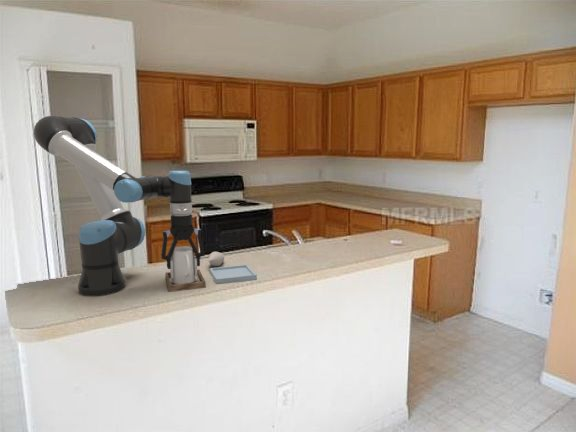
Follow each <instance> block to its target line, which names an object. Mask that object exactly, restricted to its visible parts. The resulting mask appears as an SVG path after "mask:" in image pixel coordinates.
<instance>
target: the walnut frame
mask: <svg viewBox="0 0 576 432" xmlns="http://www.w3.org/2000/svg"><path fill="white" fill-rule="evenodd" d="M197 277H198V279H199V281H197V282H195V281H194V282H191V283H185V284H171V281H170V279H172V278H171V271H169V272H165V280H166V285H167V289H168V290H167V291H168V293H169V292H176V291H177V292H178V291H186V290H194V289H202V288H206V284H207V283H206V280H205V278H204V276H203V274H202V272H201V270H200V269H199V268H197Z"/></svg>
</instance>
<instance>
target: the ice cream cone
mask: <svg viewBox="0 0 576 432" xmlns="http://www.w3.org/2000/svg"><path fill="white" fill-rule="evenodd" d="M224 260H225V256H224V254H223V253H222V252H219V251H212V252H211V253H210V254H209V255H208V260H207V261H208V263H209V265H211V266H212V267H220V266H221V264H223V262H224Z"/></svg>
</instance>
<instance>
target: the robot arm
mask: <svg viewBox="0 0 576 432" xmlns="http://www.w3.org/2000/svg"><path fill="white" fill-rule="evenodd" d="M33 137H34V140H35V141H36V143H37V144H38V146H40V148H42V150H44V151H46V152H48V153H49V154H50V155H52V156H54V157H61V158H62V159H64V160H66V161H67V162H69V163H70V164H72V165H73V166H74V167H75V169H76V171H77V172H78V175H79V177H80V179H81V180H82V183H83V185H84V187H85V189H86V190H87V193H88V194H89V196H90V199H91V200H92V203H93V205H94V207H95V208H96V211H97V212H98V213H99V216H100V220H96V221H91V222H88V223H85V224H83V225H82V226H81V227H80V229H79V231H78V233H79V236H78V242H79V249H80V261H81V274H80V277H79V281H78V285H77V288H78V289H77V290H78V294H80V295H83V296H88V297H89V296H92V297H95V296H96V297H97V296H107V295H111V294H113V293H114V294H115V293H117V292H120V291H123V290H124V289H125V288H126V279H125V276H124V275H123V272H122V270H121V268H120V265H119V264H120V263H119V255H120V254H122V253H124V252H126V251H127V252H128V251H130V250H133V249H135V248H136V247H139V246H140V245H141V244H142V243H143V242H144V240H145V236H146V229H145V227H146V226H145V225H144V223H143V221H141V220H140V218H137V217H135V216H133V215H132V212H131V211H130V210H129V209H126V208H124V207H123V203H126V204H127V203H137V202H139V201H143V200H148V199H153V198H169V211H170V212H169V213H170V214H171V215H170V228H169V230H163V231H162V236H163V239H162V247H161V255H160V256H161V260H166V267H167V269H168V270H170V271H169V272H171V278H170V279H172V278H173V260H172V259H171V257H172V254H173V251H174V249H175V247H177V243H178V242H179V241H180V242H181V241H188V242H189V245H190V247H192V249H193V251H194V272H195V277H198V275H197V270H198V267H200V266H201V257H203V256H205V255H206V253H205V249H204V243H203V240H202V232H203V230H202V229H201V228H194V224H193V214H192V213H193V203H192V202H193V201H192V179H191V173H190V171H189V170H169V172H168V175H166V176H164V175H163V176H162V175H161V176H160V175H142V176H140V177H136V176H134V175H132V174H131V173H129V172H127V170H124V169H122V168H121V167H119V166H118V165H116V163H115V164H114V163H113V162H112V161H110V160H108V158H105V157H103V156H102V155H100V153H97V152H96V150H97V147H98V146H97V144H96V143H97V141H98V140H97V137H98V134H97V130H96V128H95V127H94V125H93V124H92V123H91V122H90V121H89V120H87V119H83V118H80V117H76V116H75V117H74V116H72V117H70V116H69V117H68V116H57V115H48V116H44V117H42V118H40V119H39V120H38V121H37V122H36V123H35V125H34V128H33ZM170 234H171V235H172V237H173V239H172V242H171V245H170V247H169V250H168V252H167V244H168V237H170ZM193 234H195V235H196V237H197V242H198V247H199V251H200V252H198V249H197V247H196V245H195V243H194V241H193V239H192V237H191V236H192V235H193ZM166 254H167V255H166Z"/></svg>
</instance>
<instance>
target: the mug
mask: <svg viewBox="0 0 576 432" xmlns="http://www.w3.org/2000/svg"><path fill="white" fill-rule="evenodd" d="M194 257H195V253H194V251H193V249H192V247H191V246H186V245H185V246H175V249H174V251H173V254H172V257H171V259H172V260H173V278H171V283H172V284H174V285H176V284H185V283H194V282H195V281H196V276H195V272H194Z"/></svg>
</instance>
